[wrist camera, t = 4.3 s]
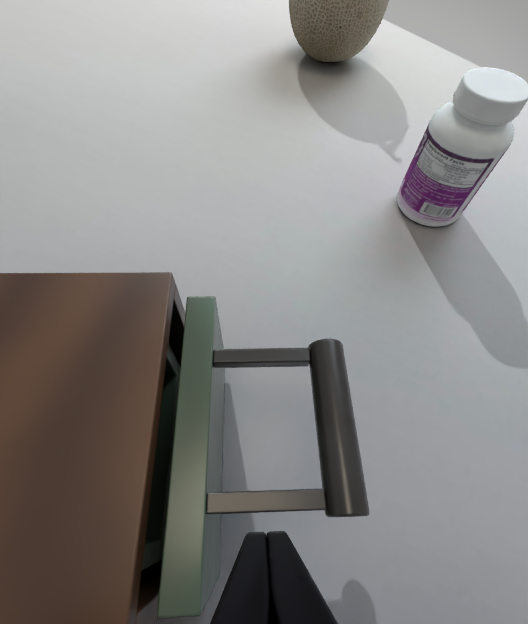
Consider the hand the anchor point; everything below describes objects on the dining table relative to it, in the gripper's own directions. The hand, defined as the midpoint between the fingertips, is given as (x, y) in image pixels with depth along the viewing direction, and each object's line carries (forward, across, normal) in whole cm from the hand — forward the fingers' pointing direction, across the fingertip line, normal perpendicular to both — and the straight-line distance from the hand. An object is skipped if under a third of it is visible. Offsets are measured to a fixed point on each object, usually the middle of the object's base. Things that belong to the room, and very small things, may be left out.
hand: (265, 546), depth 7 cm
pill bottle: (+24, -15, -8) cm, 29 cm away
